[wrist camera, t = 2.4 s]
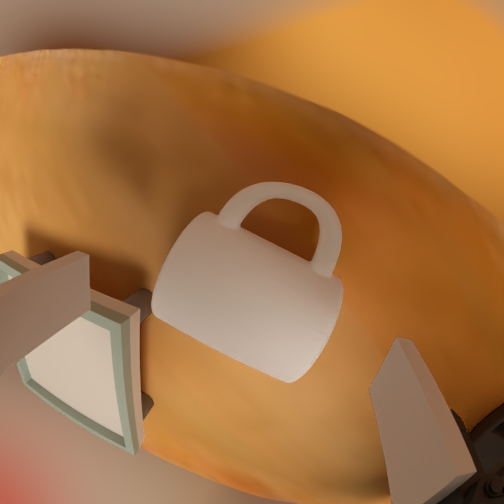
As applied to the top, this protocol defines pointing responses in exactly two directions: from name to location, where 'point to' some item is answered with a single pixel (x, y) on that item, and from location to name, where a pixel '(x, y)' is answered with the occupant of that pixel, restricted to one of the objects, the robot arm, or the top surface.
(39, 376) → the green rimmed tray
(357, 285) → the top surface
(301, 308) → the mug
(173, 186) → the top surface
